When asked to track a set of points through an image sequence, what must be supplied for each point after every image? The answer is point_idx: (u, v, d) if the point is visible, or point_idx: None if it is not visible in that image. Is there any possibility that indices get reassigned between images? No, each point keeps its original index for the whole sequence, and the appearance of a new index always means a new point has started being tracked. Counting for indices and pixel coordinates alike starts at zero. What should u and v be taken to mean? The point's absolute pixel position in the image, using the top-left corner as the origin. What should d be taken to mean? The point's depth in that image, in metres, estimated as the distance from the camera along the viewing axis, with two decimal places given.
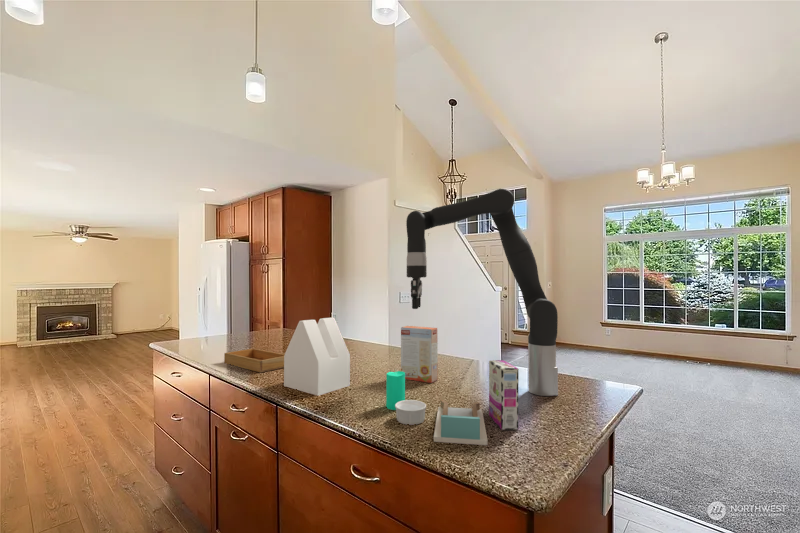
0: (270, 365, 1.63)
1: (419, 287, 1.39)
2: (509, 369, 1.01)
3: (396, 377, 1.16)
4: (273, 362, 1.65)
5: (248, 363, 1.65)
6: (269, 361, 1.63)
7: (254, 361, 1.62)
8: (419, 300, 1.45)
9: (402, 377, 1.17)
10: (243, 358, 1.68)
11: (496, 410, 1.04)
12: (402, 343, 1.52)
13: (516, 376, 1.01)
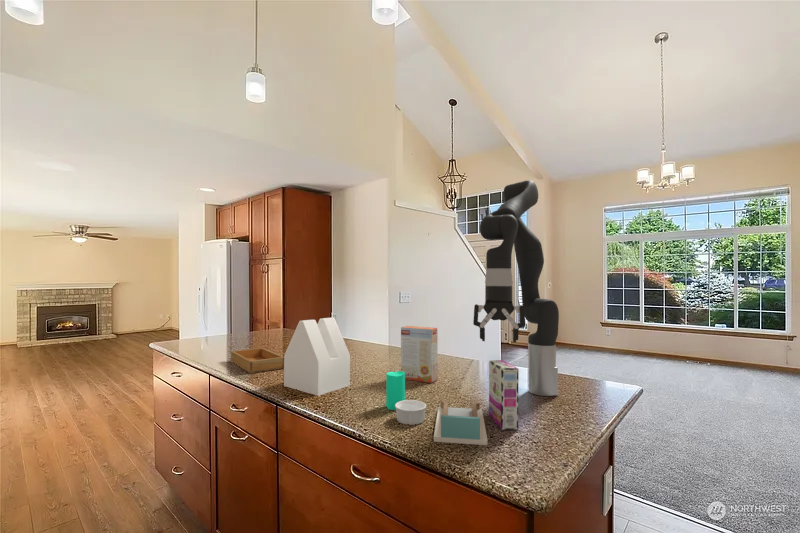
0: (261, 366, 1.61)
1: None
2: (509, 369, 1.01)
3: (396, 377, 1.16)
4: (265, 363, 1.62)
5: (243, 363, 1.66)
6: (260, 362, 1.61)
7: (246, 361, 1.62)
8: None
9: (402, 377, 1.17)
10: (240, 357, 1.69)
11: (496, 410, 1.04)
12: (402, 343, 1.52)
13: (516, 376, 1.01)
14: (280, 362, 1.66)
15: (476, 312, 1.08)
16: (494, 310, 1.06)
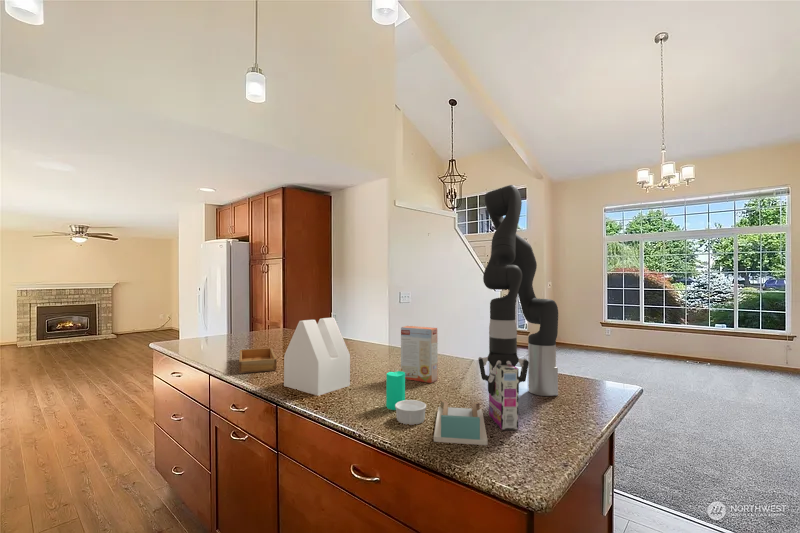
0: (251, 367, 1.60)
1: None
2: (509, 369, 1.01)
3: (396, 377, 1.16)
4: (255, 364, 1.60)
5: None
6: (250, 363, 1.60)
7: (239, 361, 1.62)
8: None
9: (402, 377, 1.17)
10: (239, 357, 1.71)
11: (496, 410, 1.04)
12: (402, 343, 1.52)
13: (516, 376, 1.01)
14: (271, 363, 1.63)
15: (482, 366, 1.06)
16: (499, 362, 1.04)
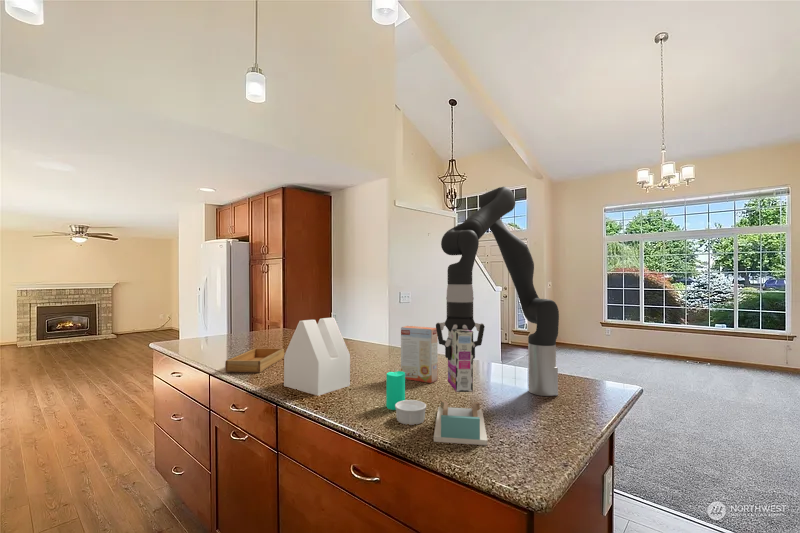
0: (236, 367, 1.60)
1: None
2: (464, 332, 1.02)
3: (396, 377, 1.16)
4: (240, 364, 1.60)
5: None
6: (235, 363, 1.60)
7: None
8: None
9: (402, 377, 1.17)
10: None
11: (452, 374, 1.05)
12: (402, 343, 1.52)
13: (471, 339, 1.02)
14: (255, 365, 1.60)
15: (439, 331, 1.07)
16: (455, 326, 1.05)
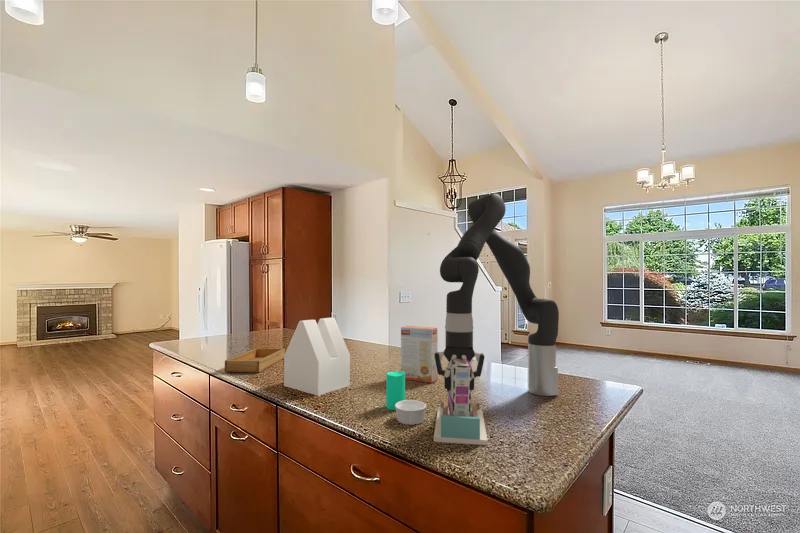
0: (235, 367, 1.60)
1: None
2: (462, 367, 0.98)
3: (396, 377, 1.16)
4: (239, 364, 1.60)
5: None
6: (234, 363, 1.60)
7: None
8: None
9: (402, 377, 1.17)
10: None
11: (450, 404, 1.03)
12: (402, 343, 1.52)
13: (469, 374, 0.98)
14: (254, 365, 1.59)
15: (437, 361, 1.04)
16: (454, 356, 1.02)
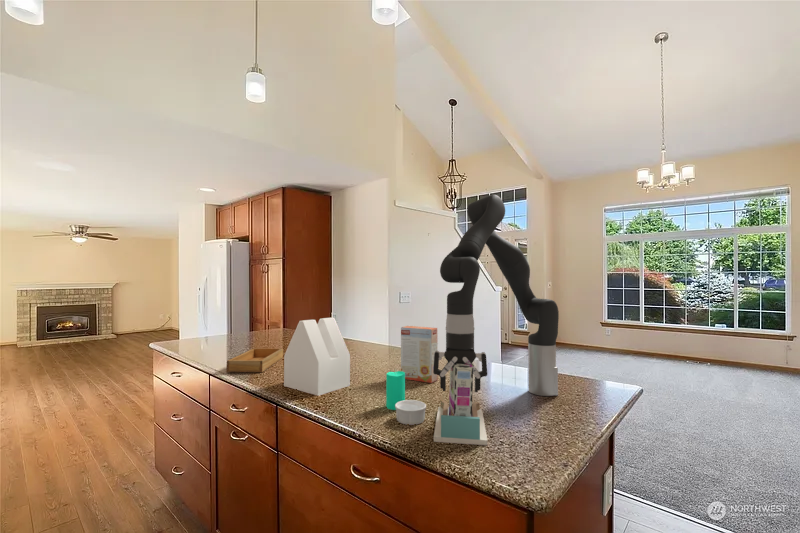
0: (238, 367, 1.60)
1: None
2: (463, 367, 0.98)
3: (396, 377, 1.16)
4: (242, 364, 1.60)
5: None
6: (237, 363, 1.60)
7: None
8: None
9: (402, 377, 1.17)
10: None
11: (451, 409, 1.01)
12: (402, 343, 1.52)
13: (470, 374, 0.98)
14: (257, 365, 1.60)
15: (436, 360, 1.01)
16: (455, 358, 1.00)
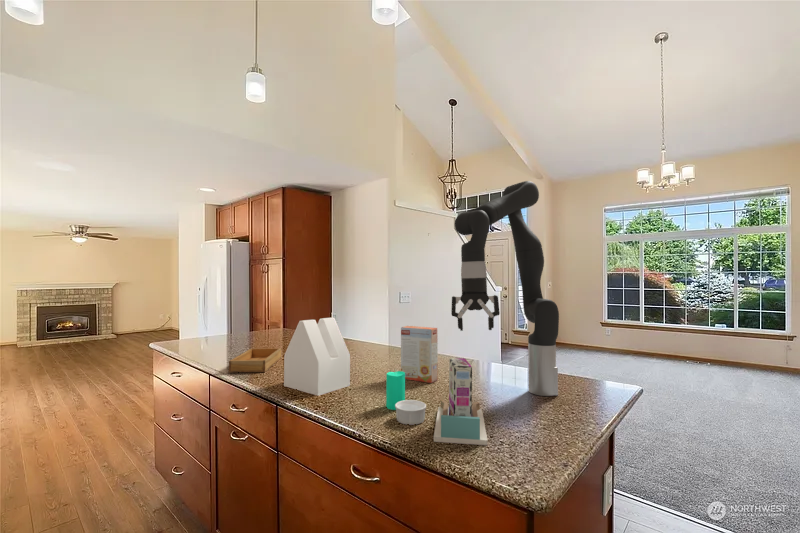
0: (240, 367, 1.60)
1: None
2: (462, 367, 0.98)
3: (396, 377, 1.16)
4: (244, 364, 1.60)
5: None
6: (239, 363, 1.60)
7: None
8: None
9: (402, 377, 1.17)
10: None
11: (451, 409, 1.01)
12: (402, 343, 1.52)
13: (469, 374, 0.98)
14: (260, 364, 1.60)
15: (454, 303, 1.14)
16: (470, 301, 1.13)
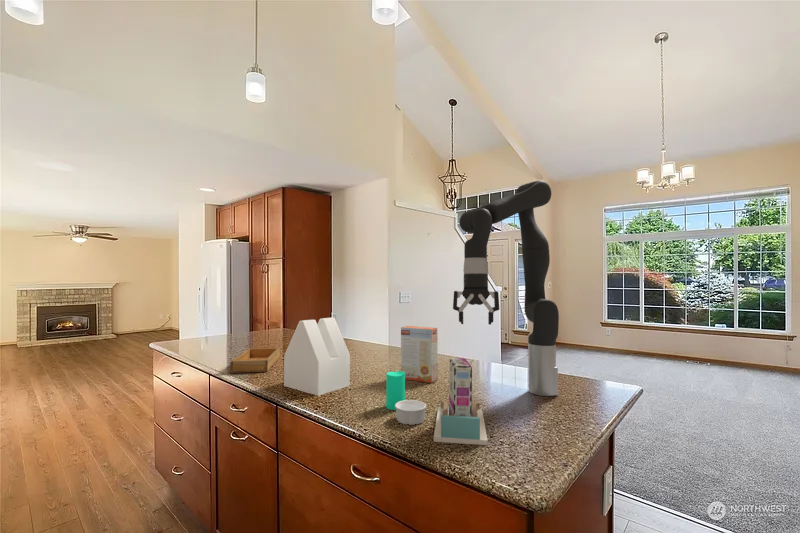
0: (242, 367, 1.59)
1: None
2: (462, 367, 0.98)
3: (396, 377, 1.16)
4: (246, 364, 1.60)
5: None
6: (241, 363, 1.59)
7: None
8: None
9: (402, 377, 1.17)
10: None
11: (451, 409, 1.01)
12: (402, 343, 1.52)
13: (469, 374, 0.98)
14: (262, 364, 1.61)
15: (455, 298, 1.18)
16: (471, 295, 1.17)
